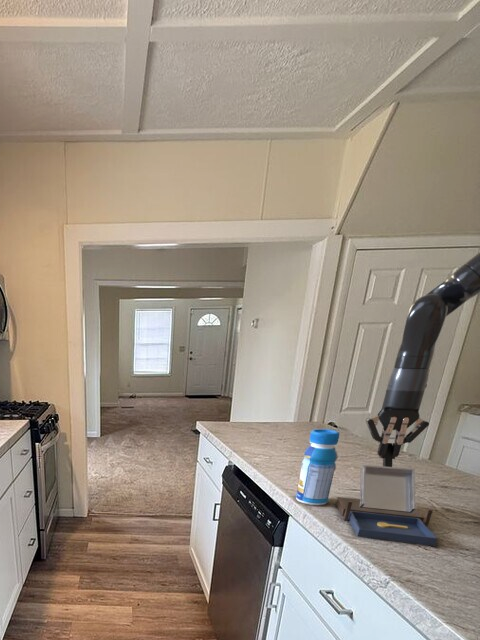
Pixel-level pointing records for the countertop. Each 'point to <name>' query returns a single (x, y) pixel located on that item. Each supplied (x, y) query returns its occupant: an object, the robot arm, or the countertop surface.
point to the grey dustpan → (387, 486)
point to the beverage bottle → (318, 467)
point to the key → (390, 525)
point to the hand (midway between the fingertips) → (386, 457)
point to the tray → (391, 528)
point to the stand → (376, 510)
